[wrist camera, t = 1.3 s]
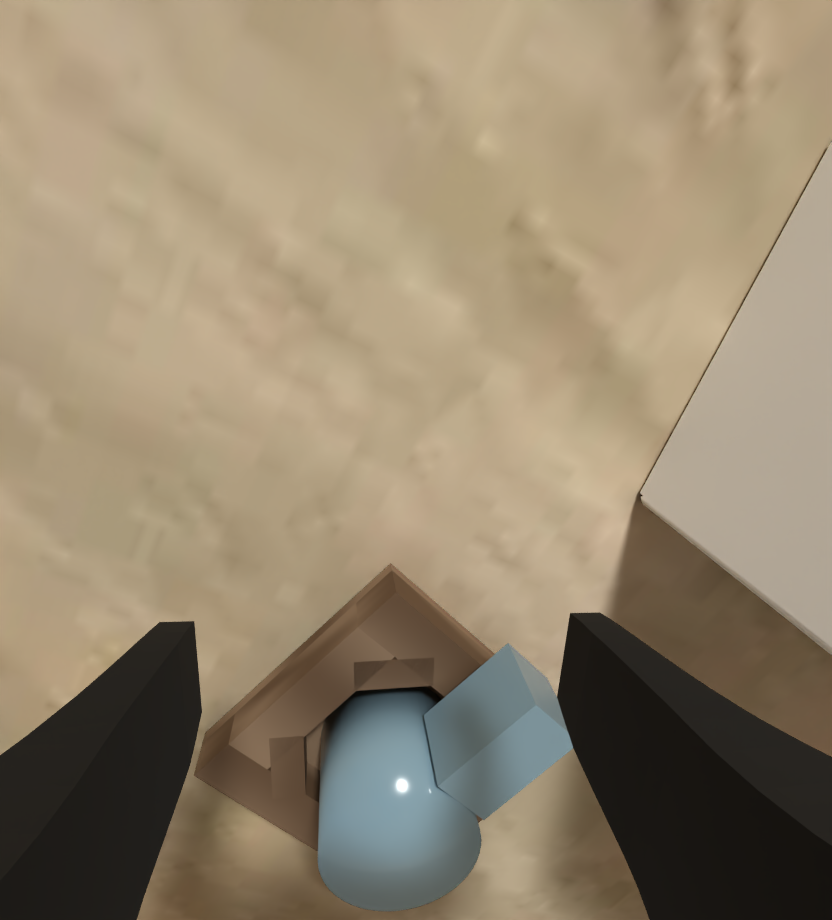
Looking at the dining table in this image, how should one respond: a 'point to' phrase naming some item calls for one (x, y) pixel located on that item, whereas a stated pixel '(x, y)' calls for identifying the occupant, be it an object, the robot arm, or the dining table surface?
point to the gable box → (766, 431)
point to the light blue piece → (428, 779)
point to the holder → (331, 697)
